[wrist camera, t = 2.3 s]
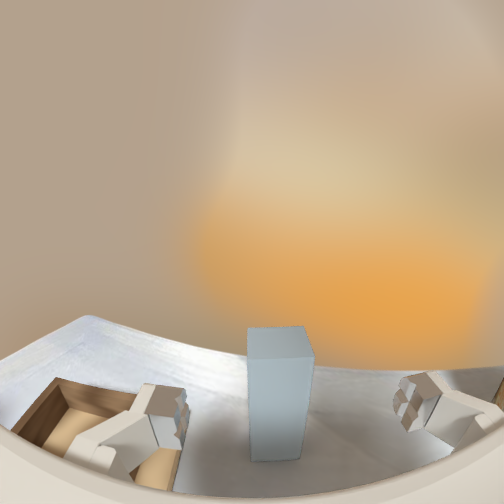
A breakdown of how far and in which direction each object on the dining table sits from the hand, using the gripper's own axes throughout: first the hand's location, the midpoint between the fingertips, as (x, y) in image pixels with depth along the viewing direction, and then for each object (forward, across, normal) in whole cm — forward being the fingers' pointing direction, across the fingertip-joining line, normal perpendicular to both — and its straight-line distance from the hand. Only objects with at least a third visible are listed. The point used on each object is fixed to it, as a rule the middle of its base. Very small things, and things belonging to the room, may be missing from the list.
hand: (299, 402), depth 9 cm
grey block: (+12, -1, +18) cm, 22 cm away
